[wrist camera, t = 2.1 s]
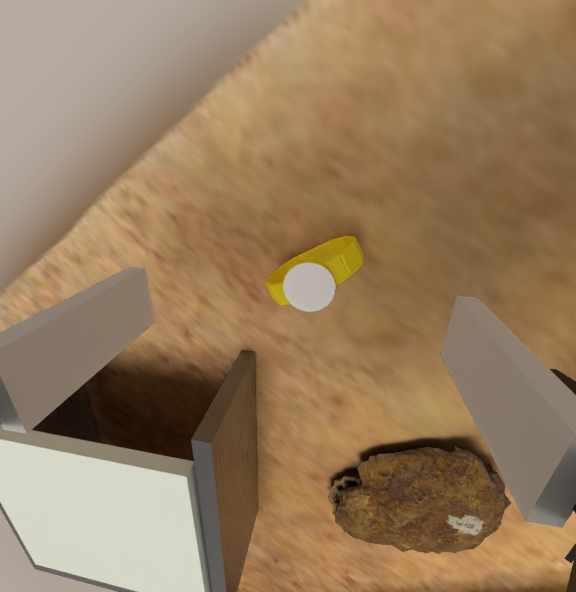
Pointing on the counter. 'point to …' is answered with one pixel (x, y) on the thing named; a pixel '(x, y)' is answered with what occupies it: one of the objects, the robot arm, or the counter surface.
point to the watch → (315, 274)
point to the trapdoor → (105, 511)
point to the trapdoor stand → (198, 470)
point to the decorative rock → (421, 500)
